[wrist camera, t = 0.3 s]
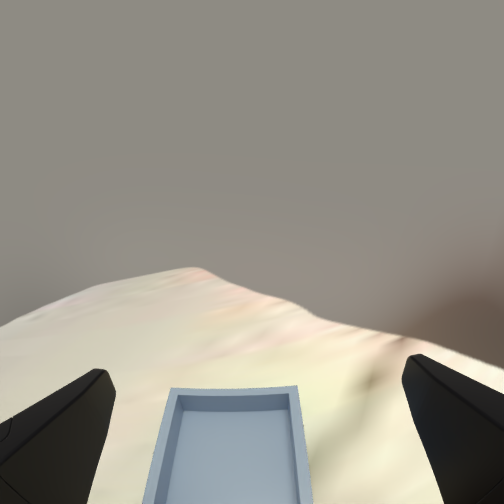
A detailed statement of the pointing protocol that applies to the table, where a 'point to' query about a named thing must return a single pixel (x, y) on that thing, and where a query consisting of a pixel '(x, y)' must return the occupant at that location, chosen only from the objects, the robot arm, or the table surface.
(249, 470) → the tray
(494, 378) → the table surface
